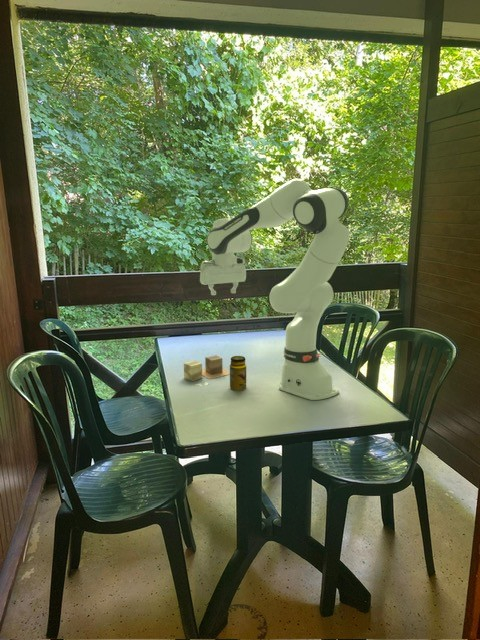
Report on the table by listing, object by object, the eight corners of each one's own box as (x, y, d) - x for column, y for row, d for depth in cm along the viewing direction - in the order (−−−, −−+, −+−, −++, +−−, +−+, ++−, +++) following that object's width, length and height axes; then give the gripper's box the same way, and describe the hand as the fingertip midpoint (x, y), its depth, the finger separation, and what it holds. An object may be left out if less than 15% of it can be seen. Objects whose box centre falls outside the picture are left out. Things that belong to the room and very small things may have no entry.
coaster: (232, 374, 173) (232, 373, 173) (209, 380, 167) (208, 378, 167) (218, 367, 182) (218, 366, 182) (195, 372, 176) (195, 371, 176)
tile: (216, 386, 161) (216, 385, 161) (199, 389, 157) (199, 388, 157) (206, 380, 167) (206, 379, 167) (190, 384, 163) (190, 383, 163)
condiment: (249, 391, 156) (249, 359, 153) (226, 393, 154) (225, 361, 151) (244, 384, 163) (244, 353, 160) (222, 386, 161) (222, 355, 158)
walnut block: (222, 372, 174) (222, 358, 173) (211, 374, 171) (211, 360, 170) (216, 369, 178) (215, 355, 177) (205, 371, 176) (205, 357, 174)
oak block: (202, 378, 168) (201, 363, 167) (192, 381, 165) (191, 366, 164) (194, 375, 172) (193, 360, 171) (184, 378, 168) (183, 363, 167)
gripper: (204, 261, 166) (205, 297, 168) (248, 259, 177) (248, 293, 180) (196, 260, 171) (197, 295, 174) (239, 258, 182) (239, 291, 185)
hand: (223, 294), depth 177 cm, fingers open, 8 cm apart
